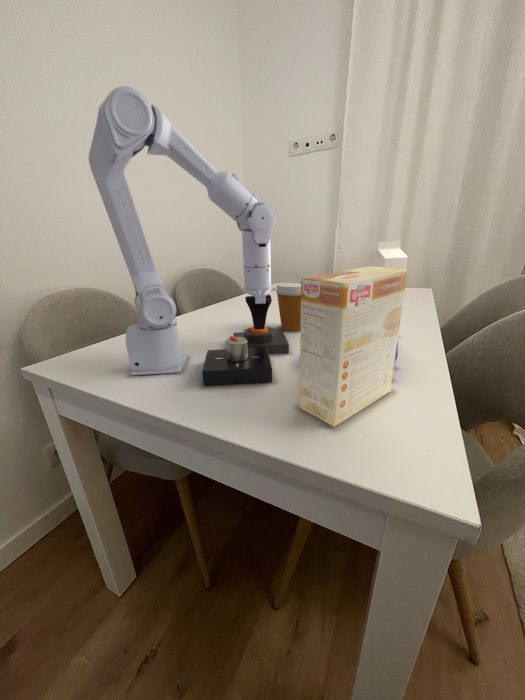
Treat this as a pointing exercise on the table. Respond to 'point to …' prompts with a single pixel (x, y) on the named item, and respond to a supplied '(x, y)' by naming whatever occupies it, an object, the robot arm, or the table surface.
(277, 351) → the button block
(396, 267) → the milk
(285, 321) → the disposable coffee cup
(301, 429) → the table surface
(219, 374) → the dial panel
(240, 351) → the knob
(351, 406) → the coffeecake box
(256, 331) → the button
